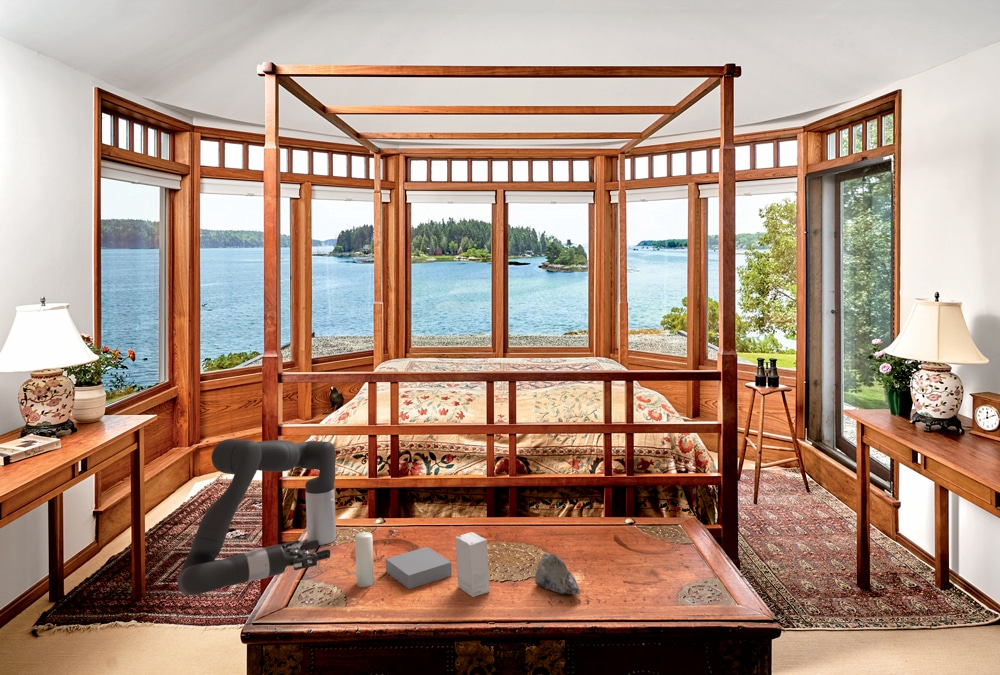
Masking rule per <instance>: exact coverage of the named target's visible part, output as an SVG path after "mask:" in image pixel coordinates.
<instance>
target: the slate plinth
mask: <svg viewBox="0 0 1000 675" xmlns="http://www.w3.org/2000/svg"><path fill="white" fill-rule="evenodd" d="M385 572H386V573H387V574H388V575H390V577H392V578H393V579H395V580H396V581H398V582H399V583H400V584H401V585H403V586H404V587H405V588H406V589H407V590H411V589H414V588H415V589H416V588H418V587H421V586H423V585H427V584H430V583H433V582H435V581H438V580H442V579H446V578H448V577H451V576H452V575H453V574H452V561H450V560H448V559H447V558H446V557H444V556H442V555H441V554H440V553H438V552H436V551H434V550H433V549H431V548H430V547H429V546H425V547H422V548H418V549H415V550H412V551H408V552H404V553H401V554H397V555H393V556H390V557H386V558H385Z"/></svg>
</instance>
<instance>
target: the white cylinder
mask: <svg viewBox="0 0 1000 675" xmlns="http://www.w3.org/2000/svg"><path fill="white" fill-rule="evenodd" d="M354 542H355V543H354V544H355V545H354V546H355V547H354V548H355V549H354V550H355V575H356V577H355V578H356V586H357V587H360V588H368V587H371V586H372V585H374V583H375V582H374V580H375V577H374V576H375V574H374V572H375V571H374V545H373V544H374V543H373V533H371V532H367V531H366V532H365V531H363V532H358V533H357V534H355V535H354Z"/></svg>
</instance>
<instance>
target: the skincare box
mask: <svg viewBox="0 0 1000 675" xmlns="http://www.w3.org/2000/svg"><path fill="white" fill-rule="evenodd" d="M488 553H489V552H488V540H487V539H486V538H484V537H482V536H481V535H479V534H477V533H475V532H474V531H471V532H467V533H464V534H461V535H458V536H455V554H456V570H457V571H456V572H457V586H458V588H459V589H460V590H462V591H463V592H464V593H466V594H467V595H469V596H470V597H472V598H475V597H477V596H481V595H485V594H487V593H490V591H491V590H490V589H491V588H490V571H489V560H488V559H489V557H488V556H489V555H488Z"/></svg>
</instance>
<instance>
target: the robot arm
mask: <svg viewBox="0 0 1000 675" xmlns="http://www.w3.org/2000/svg"><path fill="white" fill-rule="evenodd" d="M210 456H211V463H212V465H213V467H214V469H216V470H217V471H218V472H220V473H223V474H228V475H233V477H232V480H231V482H230V484H229V486H228V487H227V488H226V489H225V491H224V492H223V494H222V495H221V496H220V497H219V498H218V499H217V500H216V501H215V502H214V503H213V504H212V505H211V506H210V507H209V508H208V509H207V511H206V512H205V513H204V515H203V516H202V519H201V520H200V522H199V525H198V528H197V530H196V533H195V536H194V539H193V541H192V544H191V545H192V546H191V548H190V551H189V552H188V554H187V556H186V558H185V561H184V563H183V565H182V567H181V569H180V572H179V574H178V577H177V588H178V590H179V591H180V593H181V594H184V595H185V596H197V595H198V596H199V595H202V594H205V593H209V592H213V591H215V590H218V589H222V588H225V587H230V586H235V585H236V586H237V585H239V584H243V583H246V582H248V583H249V582H251V581H252V582H255V581H258V580H259V581H260V580H263V579H267V578H271V577H275V576H278V575H279V576H280V575H282V574H284V573H285V571H286V569H287V567H291V566H292V567H293V570H294V571H299V570H303V569H308V568H311V567H315V566H317V565H318V562H319V561H322V560H326V559H329V558H331V550H330V549H328V548H327V549H322V550H319V551H312V550H315V549H318V548H319V546H323V545H328V544H330V543H333V542H335V541H336V539H337V529H336V528H337V526H336V525H337V524H336V523H337V522H336V520H337V519H336V499H335V498H336V496H335V495H336V494H335V481H336V462H337V460H336V458H337V456H336V448H335V445H334V444H333V443H332V442H331V441H323V440H322V441H318V440H309V441H308V440H307V441H302V442H297V443H296V442H295V443H294V441H291V440H285V439H284V440H278V439H277V440H276V439H275V440H263V441H262V440H261V441H254V440H247V439H237V438H236V439H235V438H227V439H223V440H222V441H220V442H218V443H217V445H216V446H214V448H213V451H212V452H211V455H210ZM294 468H300V469H301V468H302V469H306V470H314V471H315V470H317V471H318V476H316V477H313V478H310V479H308V480H307V481H306V482H305V485H304V486H305V487H304V490H305V509H306V510H305V512H306V514H305V516H306V536H307V537H306V538H307V541H300V540H299V539H297V540H293V541H289V542H285V543H281V544H274V545H271V546H266V547H262V548H257V549H252V550H250V551H247V552H244V553H240V554H235V555H232V556H231V555H230V556H227V557H225V558H223V559H219V560H216V558H217V557H218V555H219V554H221V551H222V549H223V546H224V544H225V540H226V537H227V536H228V535H227V534H228V532H229V529H230V526H231V523H232V520H233V518H234V517H235V514H236V512H237V510H238V508H239V507H240V504H241V502H242V500H243V498H244V497H245V495H246V493H247V491H248V489H249V487H250V486H251V483H252V481H253V479H254V478H255V475H256V473H257V471H262V472H270V473H278V472H279V473H280V472H288V471H291V470H292V469H294ZM311 551H312V552H311Z"/></svg>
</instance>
